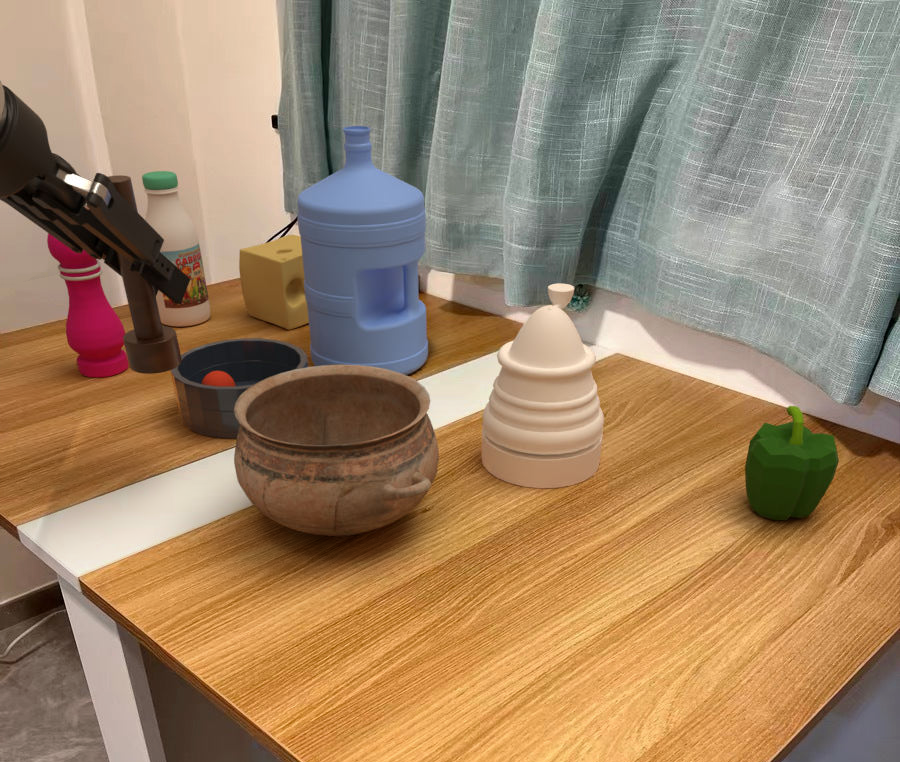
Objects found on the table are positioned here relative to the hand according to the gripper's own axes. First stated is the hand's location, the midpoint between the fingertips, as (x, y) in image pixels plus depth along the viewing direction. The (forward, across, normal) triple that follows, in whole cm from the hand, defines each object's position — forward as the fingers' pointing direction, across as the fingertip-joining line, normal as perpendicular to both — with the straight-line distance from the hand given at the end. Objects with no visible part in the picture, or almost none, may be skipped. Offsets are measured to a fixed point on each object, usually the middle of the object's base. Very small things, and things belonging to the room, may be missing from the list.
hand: (169, 288), depth 87 cm
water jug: (+35, +2, +10) cm, 37 cm away
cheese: (+43, -18, +17) cm, 49 cm away
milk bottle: (+36, -31, +10) cm, 49 cm away
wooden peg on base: (+2, 0, -7) cm, 7 cm away
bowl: (+21, -3, -4) cm, 22 cm away
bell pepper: (+25, +59, -1) cm, 64 cm away
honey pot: (+25, +34, -1) cm, 42 cm away
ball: (+18, -6, -4) cm, 19 cm away
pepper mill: (+22, -28, -4) cm, 36 cm away
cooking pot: (+10, +21, -16) cm, 28 cm away
